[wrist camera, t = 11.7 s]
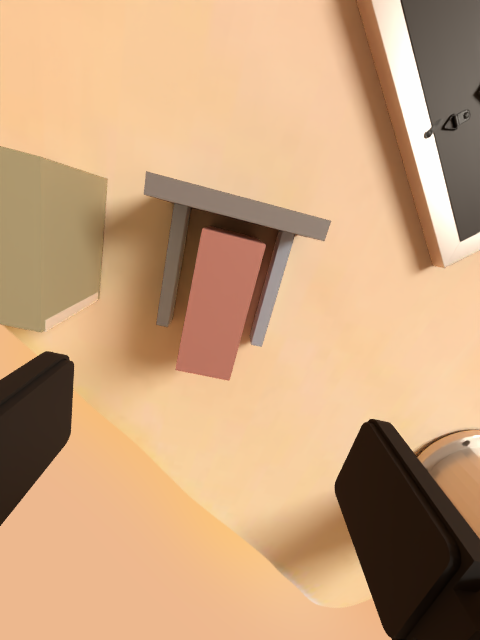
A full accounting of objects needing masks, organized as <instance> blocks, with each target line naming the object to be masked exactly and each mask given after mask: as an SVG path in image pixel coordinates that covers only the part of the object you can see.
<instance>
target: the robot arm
mask: <svg viewBox="0 0 480 640" xmlns="http://www.w3.org/2000/svg"><path fill="white" fill-rule="evenodd" d="M73 379H74V363H73V362H72V361H70V360H69V357H68V356H67V355H63V354H58V353H53V352H49V351H46V352H44V353H42V354H40V355H39V356H37V357H36V358H34V359H32V360H31V361H29V362H28V363H26V364H25V365H23V366H21V367H20V368H18V369H17V370H15V371H14V372H12V373H11V374H9V375H8V376H6V377H4V378H3V379H1V380H0V526H1V524H2V523H3V522H4V521H5V519H6V518H7V517H8V516H9V514H10V513H11V512H12V511H13V509H14V508H15V507H16V506H17V504H18V503H19V502H20V501H21V499H22V498H23V497H24V496H25V494H26V493H27V492H28V490H29V489H30V488H31V487H32V486H33V484H34V483H35V482H36V481H37V479H38V478H39V477H40V476H41V474H42V473H43V472H44V471H45V469H46V468H47V467H48V466H49V464H50V463H51V462H52V461H53V459H54V458H55V457H56V456H57V454H58V453H59V452H60V451H61V449H62V448H63V447H64V446H65V444H66V443H67V441H68V439H69V436H70V433H71V418H72V398H73ZM335 494H336V497H337V500H338V503H339V505H340V508H341V511H342V514H343V517H344V519H345V522H346V525H347V528H348V531H349V533H350V536H351V539H352V542H353V545H354V547H355V550H356V553H357V556H358V559H359V561H360V564H361V567H362V570H363V573H364V575H365V578H366V581H367V584H368V587H369V589H370V592H371V595H372V598H373V601H374V603H375V606H376V609H377V611H378V614H379V617H380V620H381V623H382V625H383V628H384V630H385V632H386V633H387V635H388V636H389V637H391V638H392V640H480V430H469V431H461V432H458V433H454V434H451V435H448V436H446V437H444V438H441V439H439V440H438V441H436V442H434V443H433V444H431V445H430V446H429V447H427V448H426V449H425V450H424V451H423V452H422V453H421V454H420V455H419V456H418V457H417V456H416V455H415V454H414V453H413V451H412V450H411V449H410V447H409V446H408V445H407V443H406V442H405V441H404V440H403V438H402V437H401V436H400V434H399V433H398V432H397V430H396V429H395V428H394V427H393V425H392V424H391V423H389V422H385V421H380V420H375V419H370V420H369V421H368V422H365V423H363V425H362V426H361V429H360V431H359V433H358V435H357V437H356V439H355V441H354V443H353V446H352V448H351V450H350V452H349V454H348V456H347V458H346V460H345V462H344V465H343V467H342V469H341V471H340V473H339V475H338V477H337V479H336V482H335Z"/></svg>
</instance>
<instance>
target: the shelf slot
mask: <svg viewBox="0 0 480 640" xmlns="http://www.w3.org/2000/svg"><path fill="white" fill-rule="evenodd" d="M144 195H148V196H151V197H155V198H158V199H161V200H165V201H168V202H172V203H174V208H173V215H172V222H171V228H170V235H169V242H168V249H167V255H166V262H165V269H164V276H163V282H162V289H161V296H160V303H159V309H158V316H157V323H156V325H160V326H165V327H168V326H169V324H170V322H171V321H172V319H173V313H174V307H175V301H176V295H177V289H178V283H179V277H180V272H181V266H182V260H183V254H184V248H185V242H186V236H187V230H188V224H189V218H190V212H191V208H195V209H199V210H203V211H207V212H211V213H215V214H218V215H222V216H226V217H230V218H234V219H238V220H242V221H246V222H249V223H253V224H257V225H261V226H265V227H269V228H273V229H276V230H279V231H278V235H277V239H276V242H275V246H274V249H273V253H272V257H271V260H270V264H269V268H268V271H267V275H266V278H265V282H264V286H263V289H262V293H261V296H260V300H259V304H258V307H257V311H256V315H255V318H254V322H253V325H252V329H251V333H250V341H251V345H256V346H261V347H262V344H263V341H264V337H265V334H266V331H267V327H268V324H269V321H270V317H271V314H272V310H273V307H274V304H275V300H276V297H277V294H278V290H279V287H280V283H281V280H282V277H283V273H284V270H285V267H286V263H287V260H288V256H289V253H290V250H291V246H292V243H293V240H294V236H295V234H296V235H300V236H304V237H309V238H313V239H317V240H322V241H325V238H326V235H327V232H328V229H329V226H330V223H331V221H330V220H326V219H322V218H318V217H315V216H311V215H307V214H303V213H300V212H296V211H292V210H289V209H285V208H281V207H277V206H274V205H270V204H266V203H262V202H259V201H255V200H251V199H247V198H244V197H240V196H236V195H233V194H229V193H225V192H221V191H218V190H214V189H210V188H206V187H203V186H199V185H195V184H191V183H188V182H184V181H180V180H177V179H173V178H169V177H165V176H162V175H158V174H154V173H150V172H147V171H146V179H145V188H144Z"/></svg>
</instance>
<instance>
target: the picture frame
mask: <svg viewBox="0 0 480 640" xmlns="http://www.w3.org/2000/svg"><path fill="white" fill-rule="evenodd" d="M356 2H357V5H358V9H359V12H360V16H361V19H362V23H363V26H364V29H365V33H366V36H367V40H368V43H369V47H370V50H371V54H372V57H373V61H374V64H375V68H376V71H377V74H378V78H379V81H380V85H381V88H382V92H383V95H384V99H385V102H386V106H387V109H388V113H389V116H390V119H391V123H392V126H393V130H394V133H395V137H396V140H397V144H398V147H399V151H400V154H401V158H402V161H403V164H404V168H405V171H406V175H407V178H408V182H409V185H410V189H411V192H412V196H413V199H414V203H415V206H416V209H417V213H418V216H419V220H420V223H421V227H422V230H423V234H424V237H425V241H426V244H427V247H428V251H429V254H430V258H431V261H432V265H433V266H437V267H442V268H446V267H448V266H450V265H452V264H454V263H456V262H458V261H460V260H462V259H464V258H466V257H468V256H470V255H472V254H474V253H476V252H478V251H480V0H356Z"/></svg>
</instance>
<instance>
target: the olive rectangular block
mask: <svg viewBox="0 0 480 640" xmlns="http://www.w3.org/2000/svg"><path fill="white" fill-rule="evenodd" d="M106 193H107V179H106V178H103V177H100V176H97V175H94V174H91V173H88V172H85V171H82V170H79V169H76V168H73V167H70V166H67V165H64V164H61V163H58V162H55V161H52V160H49V159H46V158H43V157H40V156H36V155H32V154H28V153H24V152H21V151H17V150H13V149H9V148H5V147H1V146H0V324H1V325H6V326H11V327H16V328H21V329H26V330H31V331H36V332H43V331H45V332H46V331H48V330H50V329H51V328H53V327H55V326H56V325H58V324H60V323H61V322H63V321H65V320H66V319H68V318H70V317H71V316H73V315H75V314H76V313H78V312H80V311H81V310H83V309H85V308H86V307H88V306H90V305H91V304H93V303H95V302H96V301H98V299H99V293H100V279H101V265H102V250H103V236H104V222H105V207H106Z"/></svg>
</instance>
